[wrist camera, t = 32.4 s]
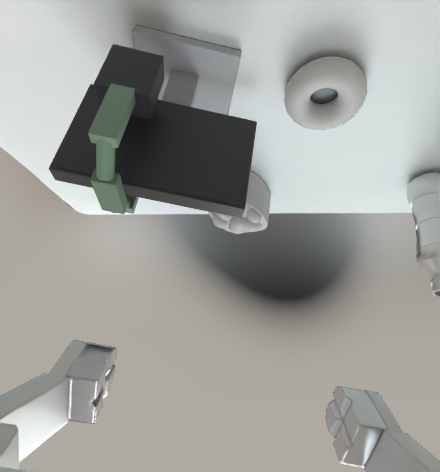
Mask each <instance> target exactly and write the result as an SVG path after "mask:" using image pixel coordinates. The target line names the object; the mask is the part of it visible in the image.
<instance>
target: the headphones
mask: <svg viewBox="0 0 440 472" xmlns="http://www.w3.org/2000/svg"><path fill="white" fill-rule="evenodd" d="M163 82H164V56H162V55H158V54H153V53H149V52H145V51H140V50H136V49H132V48H127V47H123V46H119V45H115V44H113V45H112V48H111V50H110V52H109V54H108V56H107V58H106V60H105V62H104V64H103V66H102V68H101V70H100V72H99V74H98V76H97V78H96V80H95V82H94V86H95V90H96V94H97V98H98V101H99V105H100V108H99V110H98V112H97V115H96V117H95V119H94V121H93V123H92V126H91V128H90V130H89V132H88V135H89V138H90V140H91V143H95V144H96V169H94V172H93V174H92V177H91V179H90V181H91V184H92V186H93V189H94V191H95V193H96V196H97V198H98V201H99V203H100V205H101V208H102V210H106V211H111V212H112V213H121V214H124V213H125V212H128V213H134V210H135V207H136V204H137V201H138V198H139V197H136V196H131V195H126V194H125V192H124V188H123V184H122V180H121V176H120V174H119V173H115V148H118V147H119V144H120V142H121V139H122V136H123V134H124V131H125V129H126V126H127V123H128V121H129V118H130V116H136V117H140V118H145V119H150V118H151V117H152V114H153V111H154V108H155V105H156V102H157V99H158V96H159V94H160V91H161V88H162V85H163Z"/></svg>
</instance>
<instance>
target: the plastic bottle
mask: <svg viewBox="0 0 440 472" xmlns="http://www.w3.org/2000/svg"><path fill="white" fill-rule="evenodd" d="M407 199H408V202H409V205H410V207H411V208H412V212H413V216H414V219H415V223H416V234H417V255H416V256H417V262H418V264H419V266H420V268H421V269H422V270H423V271H424V272H425V273H426V274H427V275H428V276H430V277H431V278H432V280H431V281H430V285H431V286H432V293H433V295H436V296H440V173H437V172H432V173H426V174H422V175H420V176H418V177H416V178H414V179H413V180H412V181H411V182H410V184H409V185H408V187H407Z"/></svg>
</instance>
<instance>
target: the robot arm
mask: <svg viewBox="0 0 440 472" xmlns="http://www.w3.org/2000/svg"><path fill="white" fill-rule="evenodd" d="M116 355H117V348H115V347H110V346H105V345H100V344H95V343H90V342H84V341H79V340H73V341H72V342H71V343H70V344H69V345H68V347H67V348H66V350H65V351H64V352H63V354H62V355H61V357H60V358H59V360H58V361H57V362H56V364H55V365H54V366H53V368H52V369H51V371H50V372H49V373H48V374H47V373H43V374H41V375H39V376H38V377H35V378H33V379H32V380H30V381H28V382H26V383H24V384H22V385H20V386H18V387H16V388H14V389H13V390H10V391H8V392H7V393H5V394H3V395H1V396H0V472H32V471H26V470H19V462H20V461H21V460H23V459H24V458H25V457H26V456H27V455H29V454H30V453H31V452H32V451H34V450H35V449H36V448H37V447H38V446H39V445H41V444H42V443H43V442H44V441H46V440H47V439H48V438H49V437H50V436H52V435H53V434H54V433H55V432H57V431H58V430H59V429H60V428H61V427H63V426H64V425H65V424H66V423H67V422H68V421H74V422H82V423H90V424H95V422H96V420H97V417H98V415H99V413H100V410H101V408H102V405H103V398H104V397H105V396H107V395H108V392H109V390H110V387H111V384H112V381H113V377H114V372H115V366H114V364H113V363H114V361H115V358H116ZM333 395H334V398H335V399H334V400H333V401H331V402H329V404H328V407H327V409H326V423H327V427H328V430H329V432H330V433H331V434H332V435H333V436H334V437H335V440H334V443H333V445H334V447H335V450H336V453H337V456H338V459H339V462H340V463H342V464H347V465H353V466H358V467H363V468H364V470H365V471H366V472H440V461H439V460H438V459H437V458H436V457H434V456H433V455H432V454H431V453H430V452H429V451H427V450H426V449H425V448H424V447H423V446H422V445H420V444H419V443H418V442H417V441H416V440H414V439H413V438H412V437H411V436H410V435H409V434H407V433H403V431H402V430H401V428H400V426H399V425H398V423H397V421H396V420H395V418H394V416H393V414H392V413H391V411H390V409H389V408H388V406H387V404H386V403H385V401H384V399H383V397H382V396H381V395H380V394H379V393H378V392H373V391H367V390H359V389H353V388H347V387H341V386H338V387H336V388H335V390H334V392H333Z"/></svg>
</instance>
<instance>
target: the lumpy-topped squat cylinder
mask: <svg viewBox="0 0 440 472" xmlns="http://www.w3.org/2000/svg"><path fill="white" fill-rule="evenodd" d="M270 197H271V193H270V190H269V188H268V186H267V185H266V183H265V182H264V180H263V179H262V178H261V177H260V176H259V175H258V174H256V173H254V172H252V171H250V176H249V184H248V191H247V199H246V206H245V211H244V213H243V215H242V217H241V218H238V217H233V216H228V215H223V214H219V213H214V212H209V215H210V216H211V217H212V219H213V222H214V224H215V225H216V226H217V227H219V228H223V229H225V230H226V231H229V232H233V233H235V234H240V233H243V232H255V231H260V230H264V229H265V228H266V227H267V226H268V217H269V208H270Z"/></svg>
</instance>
